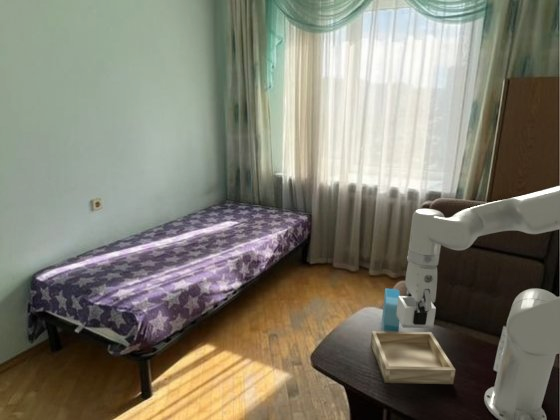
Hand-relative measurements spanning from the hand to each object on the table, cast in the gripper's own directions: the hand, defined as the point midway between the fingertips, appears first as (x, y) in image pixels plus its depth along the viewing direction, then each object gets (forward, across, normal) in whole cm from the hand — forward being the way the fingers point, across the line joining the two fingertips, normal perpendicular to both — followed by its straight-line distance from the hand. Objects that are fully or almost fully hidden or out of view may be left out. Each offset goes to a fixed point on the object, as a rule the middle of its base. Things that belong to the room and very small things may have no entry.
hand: (414, 316), depth 97 cm
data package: (+15, +16, +1) cm, 22 cm away
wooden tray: (+15, 0, 0) cm, 15 cm away
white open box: (+2, 0, 0) cm, 2 cm away
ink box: (+15, -5, -26) cm, 31 cm away
